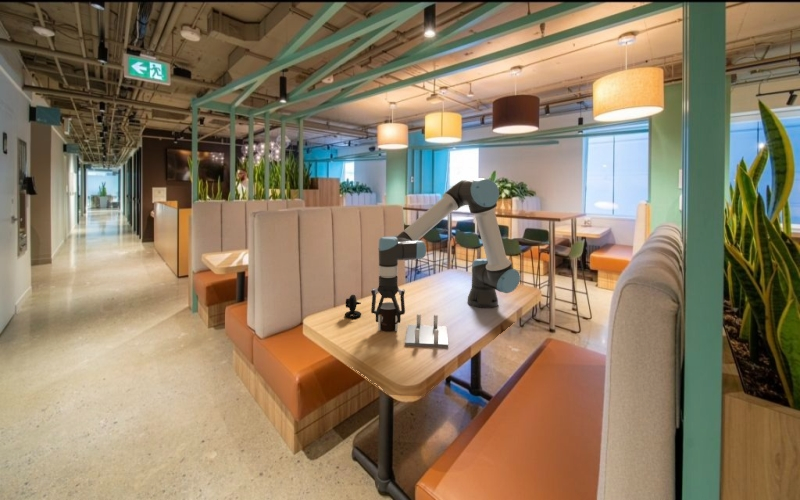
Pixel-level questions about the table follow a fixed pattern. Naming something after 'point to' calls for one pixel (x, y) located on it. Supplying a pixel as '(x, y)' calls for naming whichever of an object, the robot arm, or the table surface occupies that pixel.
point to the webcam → (352, 307)
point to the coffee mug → (388, 316)
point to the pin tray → (426, 334)
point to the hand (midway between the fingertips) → (388, 329)
